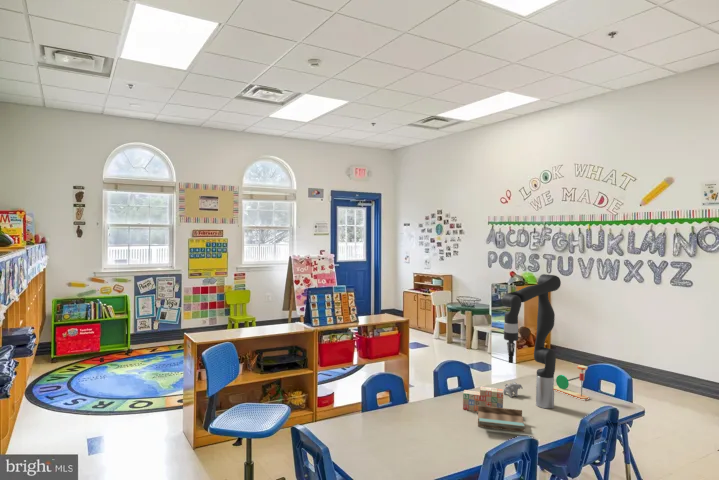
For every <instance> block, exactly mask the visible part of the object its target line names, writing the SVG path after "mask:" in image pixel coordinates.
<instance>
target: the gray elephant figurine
mask: <svg viewBox="0 0 719 480" xmlns="http://www.w3.org/2000/svg"><path fill="white" fill-rule="evenodd" d="M504 386H505V388H504V389H503V395H506V394H508V395H509V398H513V394H514V396H515V397H516V398H517V397H518V396H519V395H518V392H519V391H518V390H520V389H521V390H524V389H523V386H522V384H519V383H517V382H515V381H512V382H511V383H509V384H507V383H505V384H504Z"/></svg>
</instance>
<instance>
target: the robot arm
mask: <svg viewBox="0 0 719 480" xmlns="http://www.w3.org/2000/svg"><path fill="white" fill-rule="evenodd" d="M561 283H562V282H561V279H560V277H559V276H558V275H555V274H544V273H543V274H541V275H540V276H539V277H538V280H537V284H534V285H528V286H525V287H524V288H523V287H522V288H521V289H519V290H515V291H512V292H507V293H505V294H504V295H503V296H502V298H501V303H502V305H503V307H507V308H510V310H509V311H505V312H504V323H503V324H504V325H503V339H504V340H505V341H508V342H506V347H507V348H506V349H507V353H508V364H513V363H514V356H515V347H516V344H515V341H519V314H520V311H521V306H522V303H526V302H527V301H529V300H531V299H533V298H536V297H538V300H537V301H538V302H537V318H536V337H535V344H534V350H533V358H534V360H535V362H537V363H539V364H543V365H544V368H539V369H537V370H536V381H535V382H536V384H535V385H536V386H535V387H536V388H535V393H536V394H535V406H537V407H539V408H543V409H554V408H555V391H554V385H555V384H554V381H555V380H554V379H555V372H556V363H557V361H556V360H557V354H556V351H555V350H554V349H553V348H549V347H545V342H546V338H547V337H548V335H549V334H550V333H551V331H552V330H553V329H554V326H555V319H556V317H555V311H554V308H553V306H552V304H551V302H550V299H549V293H551V292H555V291H557V290H559V289H560V288H561V285H562V284H561Z"/></svg>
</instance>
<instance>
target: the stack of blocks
mask: <svg viewBox="0 0 719 480" xmlns="http://www.w3.org/2000/svg"><path fill="white" fill-rule="evenodd" d="M503 391H504V389H503V388H496V387H486V386H480V389H479V391H475V390H467V389H464V390H463V393H462V394H463V395H462V410H466V411H472V412H478V406H488V407H497V408H504V393H503Z"/></svg>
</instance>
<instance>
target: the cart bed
mask: <svg viewBox="0 0 719 480" xmlns="http://www.w3.org/2000/svg"><path fill="white" fill-rule="evenodd" d="M479 418H484V419H492V420H501V421H510V422H519V423H523V424H524V425H525V421H524V418H523V410H522V409H517V408H515V409H513V408H505V407H503V408H497V407H488V406H478V411H477V427H480V428H488V429H497V430H504V431H512V432H520V433H521V432H523V433H524V432H525V429H520V428H512V427H503V426H494V425H486V424H479Z"/></svg>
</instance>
